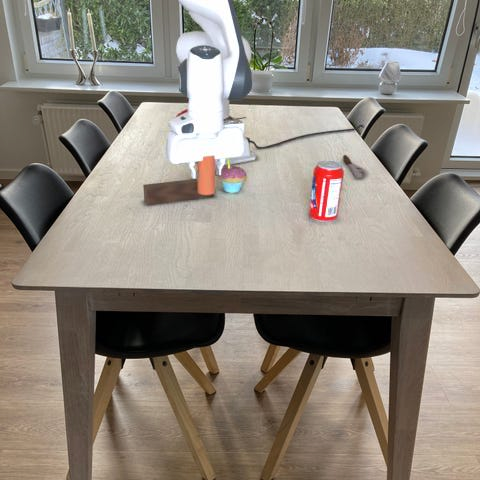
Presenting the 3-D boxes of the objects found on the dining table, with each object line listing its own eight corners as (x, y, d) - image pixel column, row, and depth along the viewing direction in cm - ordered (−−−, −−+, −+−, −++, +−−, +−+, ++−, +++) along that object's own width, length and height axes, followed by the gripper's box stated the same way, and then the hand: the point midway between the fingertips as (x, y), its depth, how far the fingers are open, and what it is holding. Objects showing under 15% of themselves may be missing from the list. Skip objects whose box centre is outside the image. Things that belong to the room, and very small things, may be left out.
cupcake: (225, 196, 155) (226, 155, 148) (213, 187, 161) (213, 147, 154) (251, 192, 158) (253, 152, 151) (238, 183, 164) (239, 144, 157)
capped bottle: (211, 187, 141) (211, 145, 135) (218, 193, 138) (218, 150, 131) (194, 189, 139) (193, 147, 133) (201, 196, 136) (200, 152, 130)
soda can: (329, 226, 139) (337, 171, 131) (303, 219, 143) (309, 164, 134) (341, 217, 145) (349, 163, 137) (315, 210, 148) (322, 157, 140)
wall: (209, 193, 156) (209, 177, 154) (213, 196, 154) (213, 180, 151) (144, 201, 149) (143, 184, 146) (147, 205, 147) (146, 188, 144)
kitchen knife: (369, 177, 171) (354, 175, 171) (367, 182, 172) (353, 180, 172) (356, 155, 188) (342, 153, 188) (354, 160, 189) (341, 158, 189)
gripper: (238, 115, 134) (237, 168, 142) (162, 121, 127) (165, 176, 135) (249, 121, 130) (247, 175, 138) (170, 128, 122) (173, 185, 130)
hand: (206, 176), depth 136 cm, fingers closed on capped bottle, 5 cm apart
